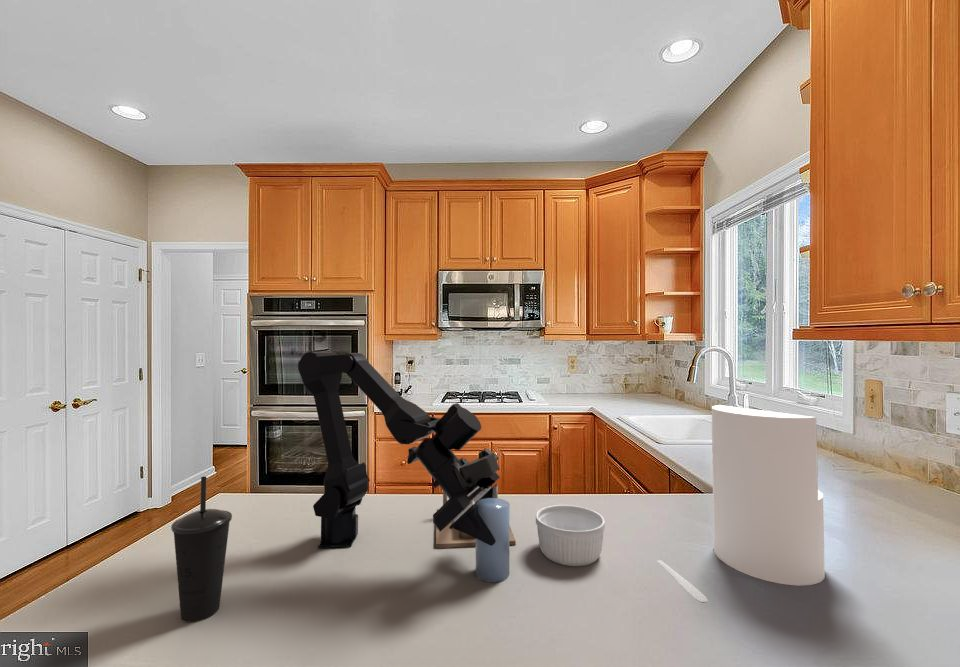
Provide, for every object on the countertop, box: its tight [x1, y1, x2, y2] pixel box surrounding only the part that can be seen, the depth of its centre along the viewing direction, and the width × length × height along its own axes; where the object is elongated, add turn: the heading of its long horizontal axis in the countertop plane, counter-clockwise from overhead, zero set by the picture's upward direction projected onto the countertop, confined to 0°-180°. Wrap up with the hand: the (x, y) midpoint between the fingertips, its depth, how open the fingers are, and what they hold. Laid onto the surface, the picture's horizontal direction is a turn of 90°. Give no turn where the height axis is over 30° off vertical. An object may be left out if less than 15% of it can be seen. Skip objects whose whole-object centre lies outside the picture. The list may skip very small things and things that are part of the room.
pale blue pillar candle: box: [475, 497, 511, 583], centre depth 75 cm, size 6×6×12 cm
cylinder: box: [711, 404, 826, 587], centre depth 80 cm, size 17×17×28 cm
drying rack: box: [435, 485, 517, 549], centre depth 93 cm, size 16×18×7 cm
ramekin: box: [535, 504, 606, 567], centre depth 82 cm, size 13×13×7 cm
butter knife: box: [656, 559, 708, 603], centre depth 79 cm, size 1×27×3 cm
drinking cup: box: [170, 476, 233, 623], centre depth 63 cm, size 8×8×20 cm
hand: (499, 536), depth 74 cm, fingers closed on pale blue pillar candle, 6 cm apart
